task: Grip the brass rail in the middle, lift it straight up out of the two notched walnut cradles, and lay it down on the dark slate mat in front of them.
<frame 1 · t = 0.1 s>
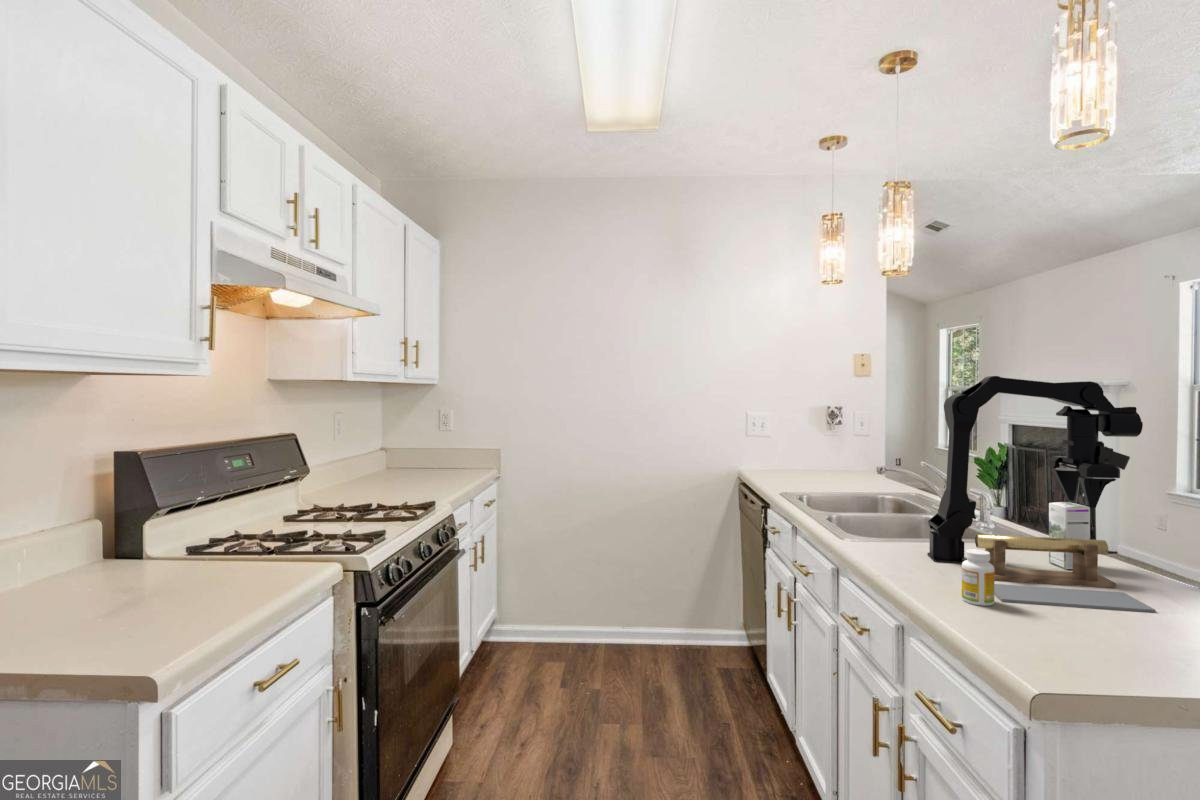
hand: (1081, 504, 141), 15 cm above the counter, tool pointing down, fingers open, 9 cm apart
slate mat: (1063, 598, 120), on the counter
cradle rack: (1039, 578, 132), on the counter
syrup box: (1069, 567, 141), on the counter
brass rail: (1039, 551, 132), point 6 cm above the counter, touching cradle rack
supplement bottle: (977, 602, 118), on the counter
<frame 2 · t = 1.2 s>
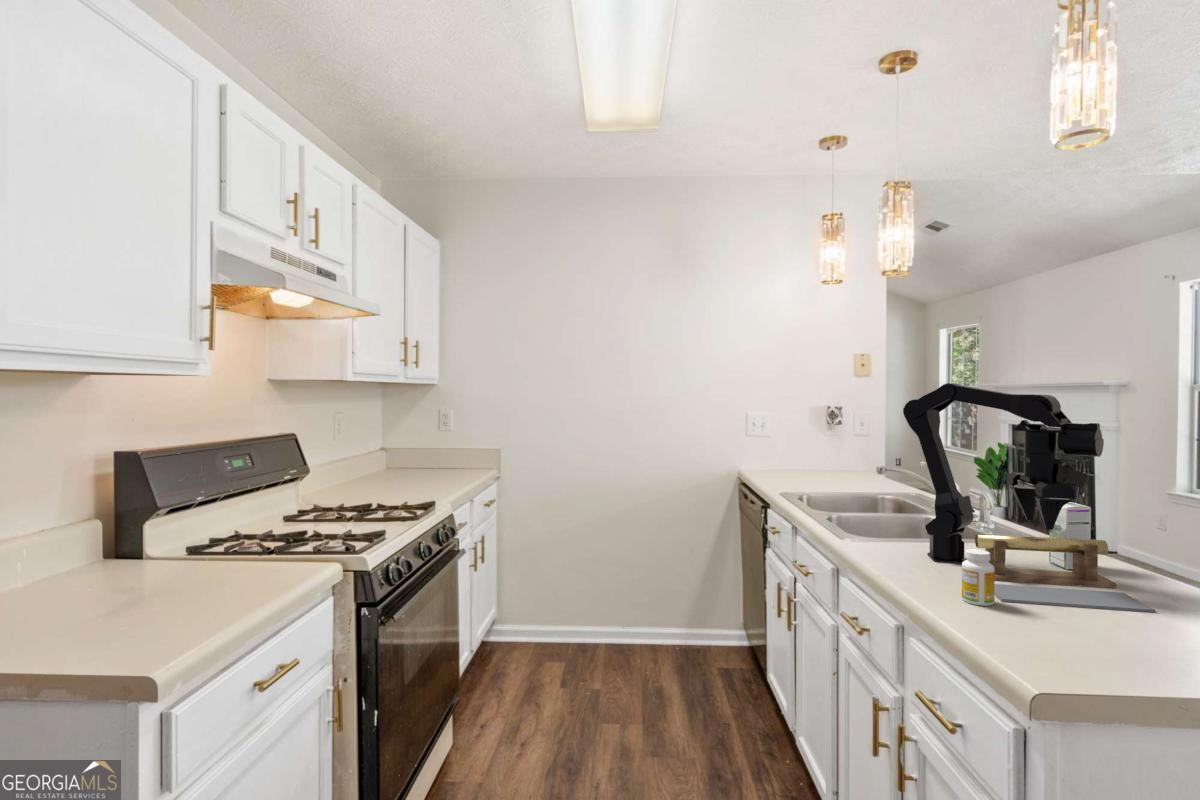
hand: (1039, 524, 132), 12 cm above the counter, tool pointing down, fingers open, 9 cm apart
nothing on the counter moved.
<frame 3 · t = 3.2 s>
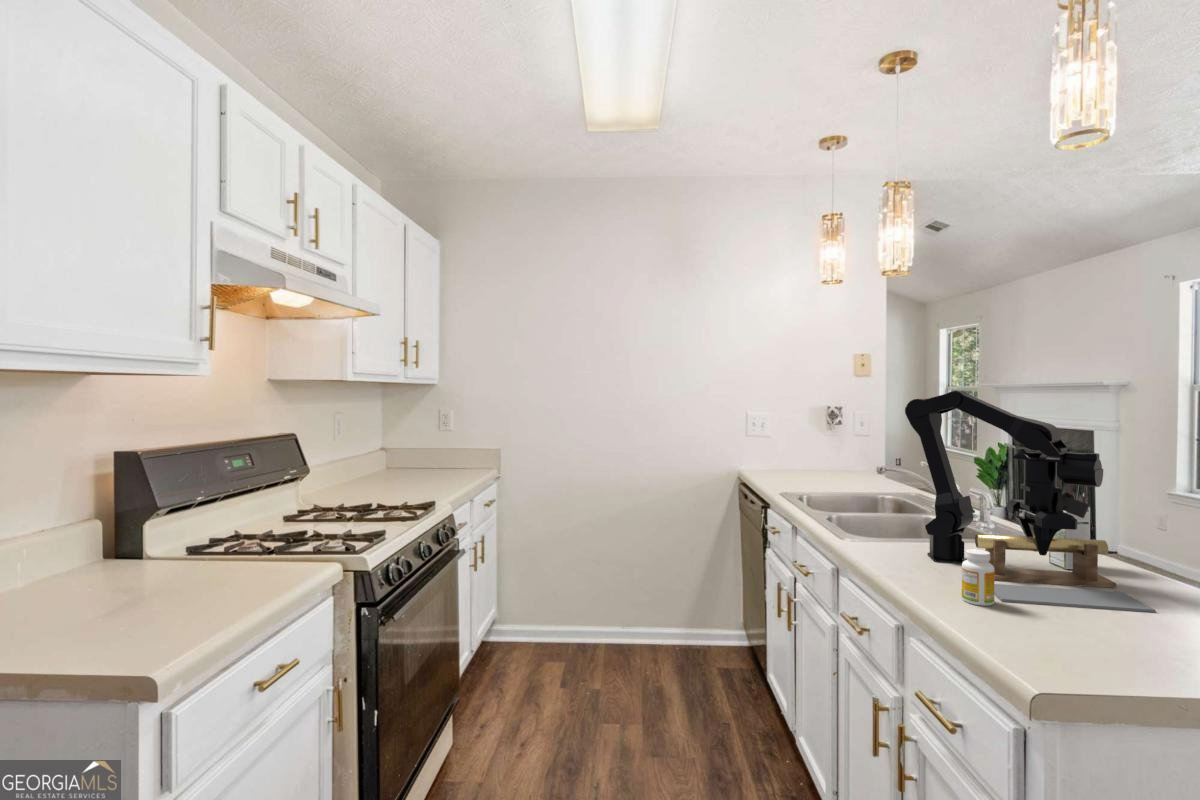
hand: (1039, 553, 132), 6 cm above the counter, tool pointing down, fingers closed on brass rail, 3 cm apart
brass rail: (1039, 551, 132), point 6 cm above the counter, touching cradle rack, gripper
everything else where it was.
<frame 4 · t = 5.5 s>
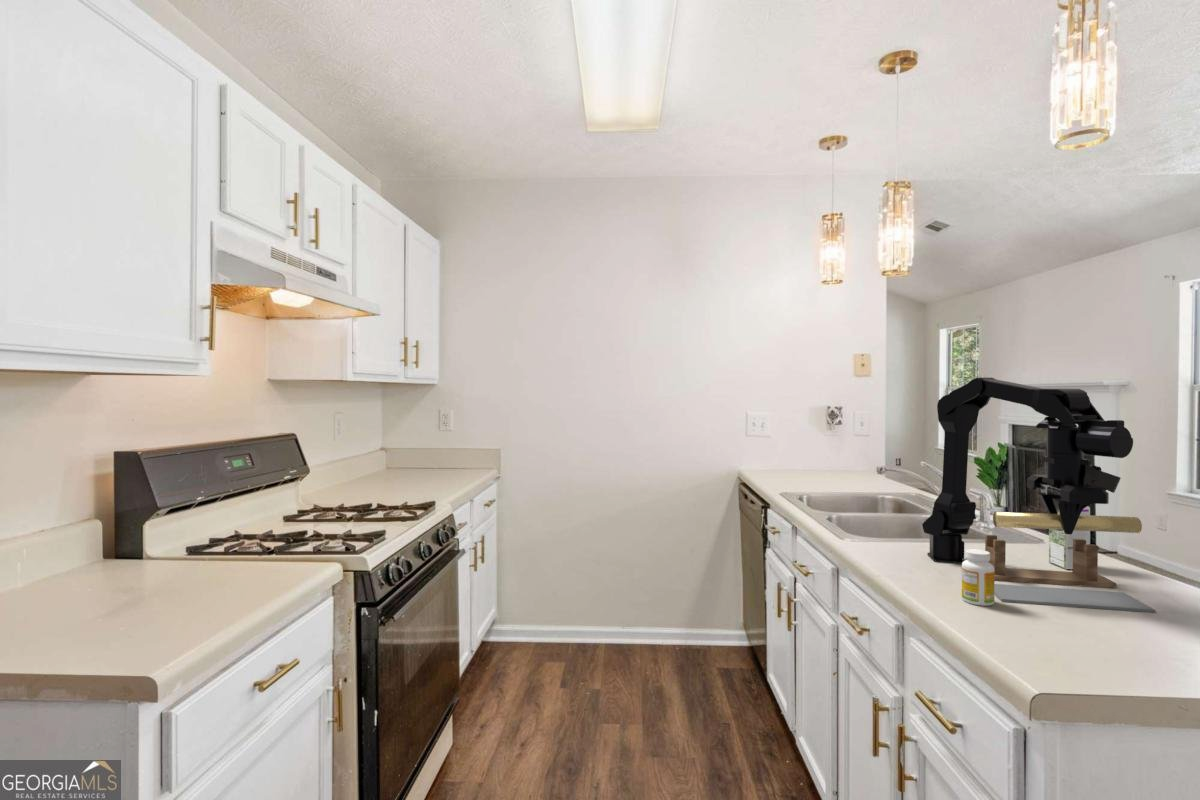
hand: (1064, 532, 120), 13 cm above the counter, tool pointing down, fingers closed on brass rail, 3 cm apart
brass rail: (1064, 529, 120), point 13 cm above the counter, touching gripper
everything else where it was.
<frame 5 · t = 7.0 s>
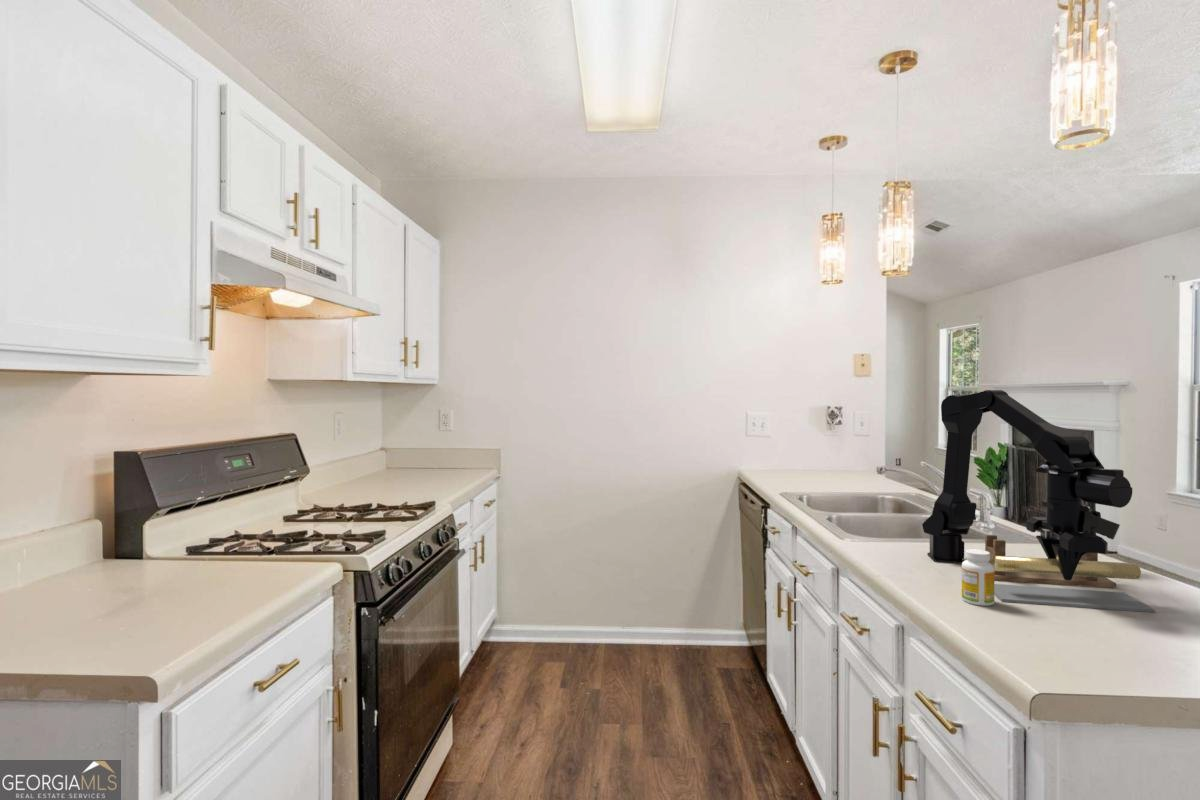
hand: (1063, 577, 120), 4 cm above the counter, tool pointing down, fingers closed on brass rail, 3 cm apart
brass rail: (1063, 574, 120), point 5 cm above the counter, touching gripper
everything else where it was.
when the fingers open (1 cm above the counter, at t = 8.2 s): brass rail drops 1 cm, resting on slate mat.
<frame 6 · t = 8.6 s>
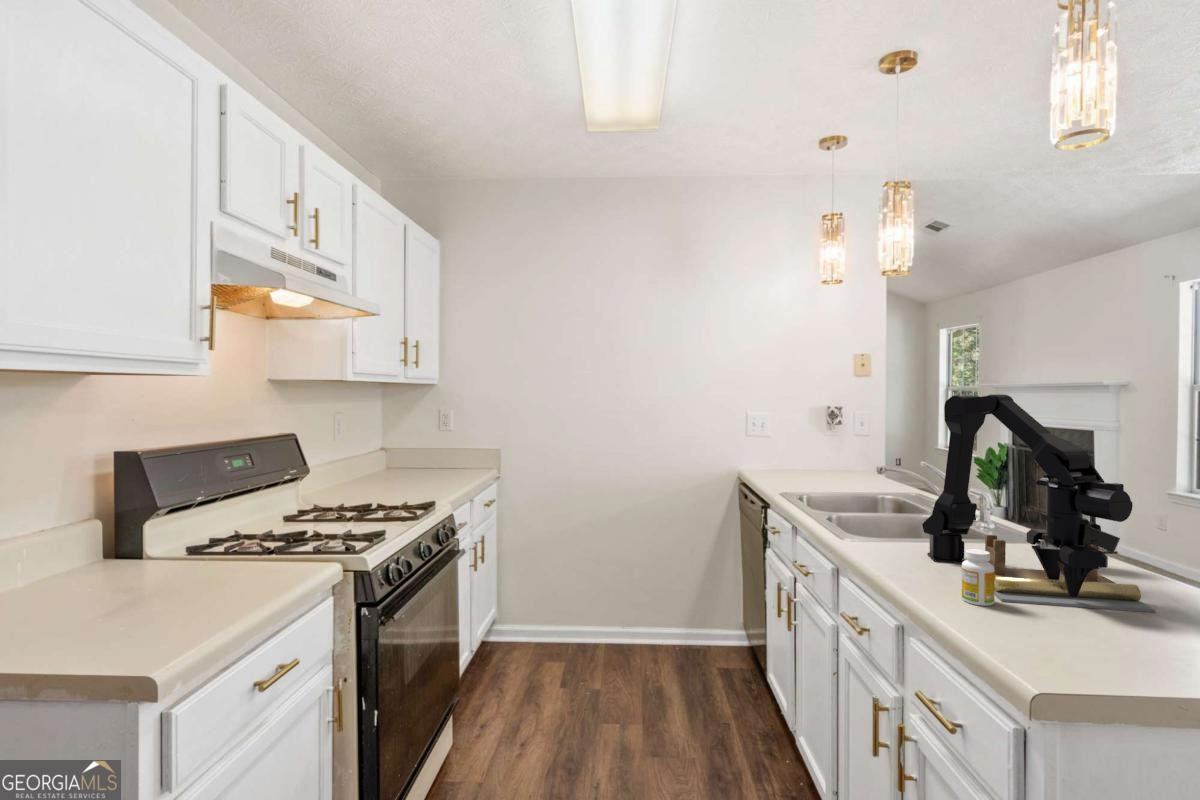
hand: (1063, 590, 120), 1 cm above the counter, tool pointing down, fingers open, 7 cm apart
brass rail: (1063, 595, 120), resting on slate mat
everything else where it was.
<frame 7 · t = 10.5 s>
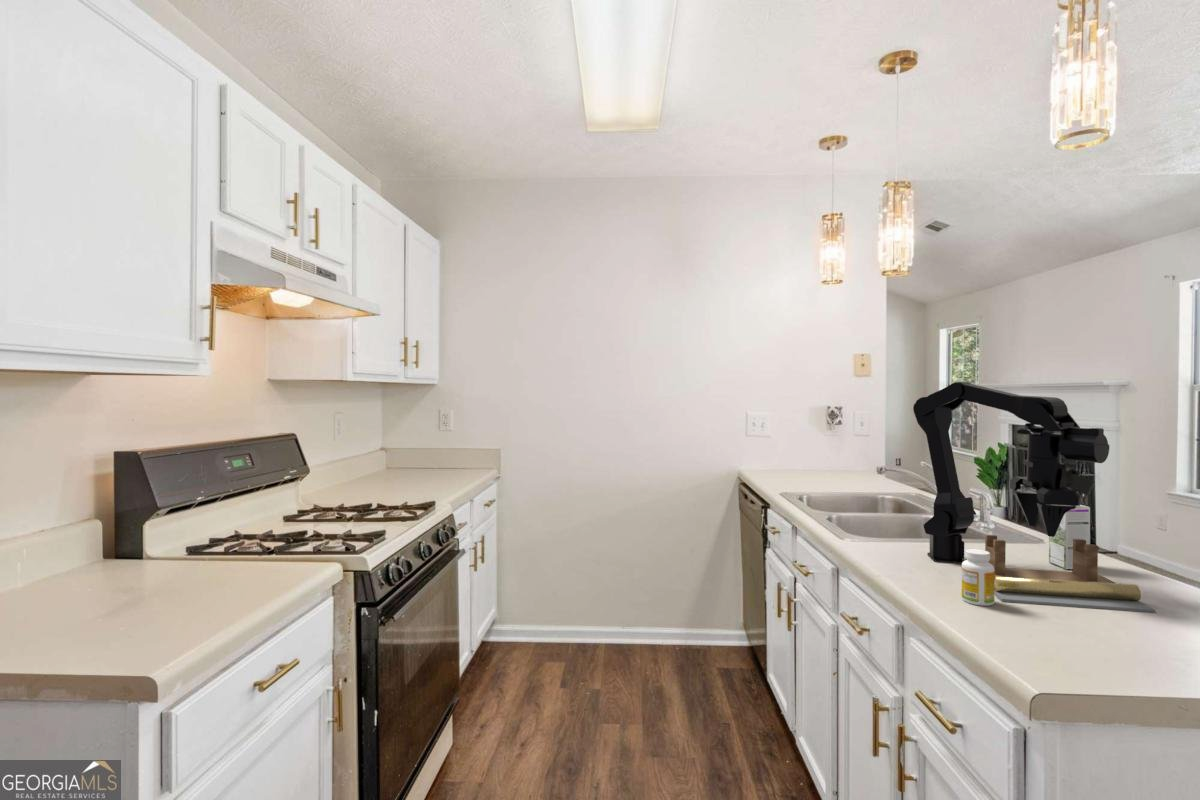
hand: (1041, 530, 129), 11 cm above the counter, tool pointing down, fingers open, 9 cm apart
nothing on the counter moved.
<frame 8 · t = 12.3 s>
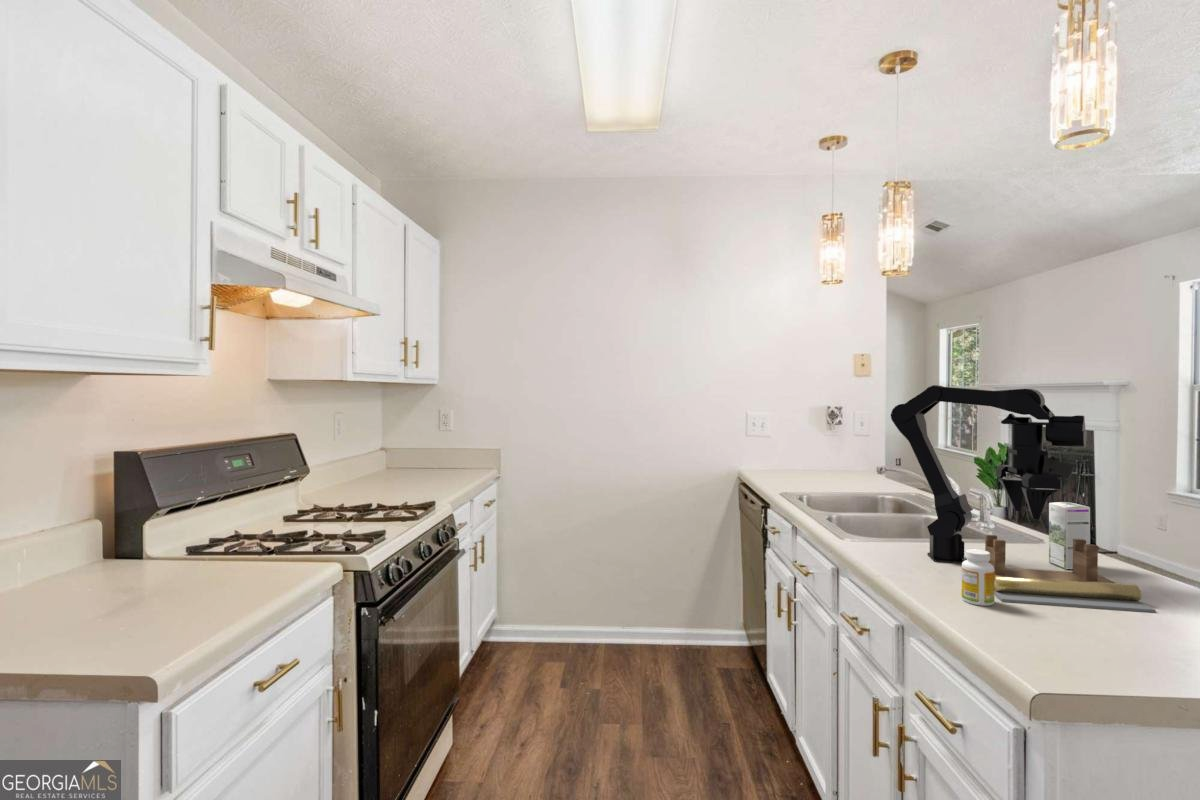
hand: (1026, 514, 136), 13 cm above the counter, tool pointing down, fingers open, 9 cm apart
nothing on the counter moved.
at the end: brass rail inside the target area (0.0 cm from its centre), point 0.5 cm above the counter; brass rail touching slate mat; the gripper is holding nothing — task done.
